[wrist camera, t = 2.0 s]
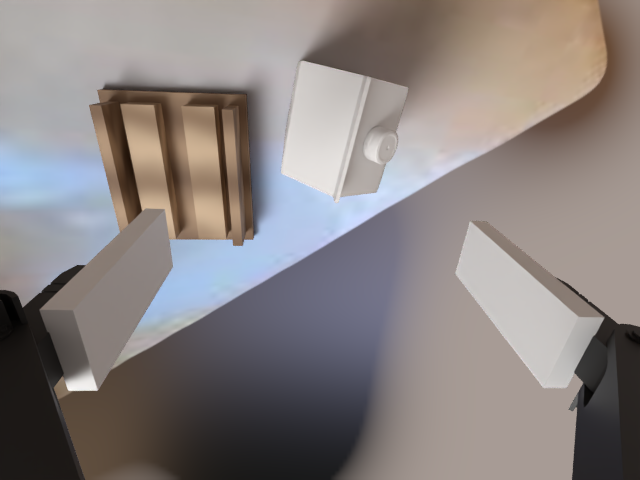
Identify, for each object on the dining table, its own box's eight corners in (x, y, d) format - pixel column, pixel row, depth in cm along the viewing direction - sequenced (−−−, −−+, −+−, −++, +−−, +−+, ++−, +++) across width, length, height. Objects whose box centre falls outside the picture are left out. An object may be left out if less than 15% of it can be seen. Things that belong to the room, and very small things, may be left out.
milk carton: (284, 134, 37) (277, 192, 20) (297, 61, 34) (302, 59, 17) (348, 148, 38) (391, 213, 22) (366, 79, 35) (432, 92, 19)
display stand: (102, 89, 34) (77, 92, 30) (246, 94, 35) (240, 98, 31) (135, 235, 41) (118, 253, 37) (254, 235, 42) (249, 253, 38)
